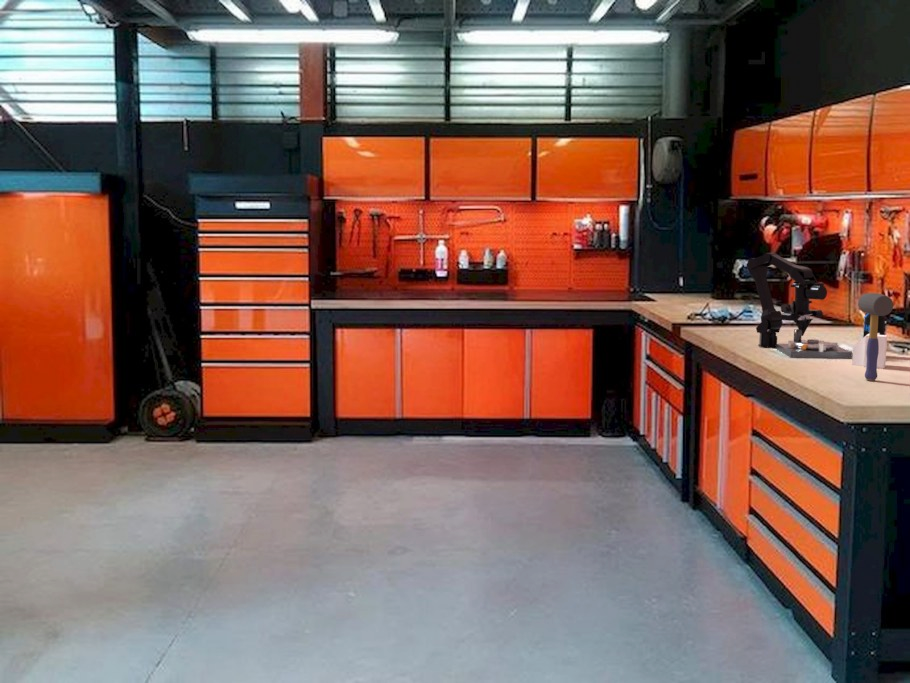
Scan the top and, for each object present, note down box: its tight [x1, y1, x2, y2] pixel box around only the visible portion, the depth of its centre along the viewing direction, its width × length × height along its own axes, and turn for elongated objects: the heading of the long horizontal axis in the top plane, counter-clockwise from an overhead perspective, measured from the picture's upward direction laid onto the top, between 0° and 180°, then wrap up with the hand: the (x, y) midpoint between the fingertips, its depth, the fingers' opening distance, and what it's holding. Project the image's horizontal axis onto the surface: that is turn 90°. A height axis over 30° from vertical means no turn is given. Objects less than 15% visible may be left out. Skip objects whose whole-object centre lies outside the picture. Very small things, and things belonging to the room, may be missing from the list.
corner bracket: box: [851, 333, 888, 370], centre depth 357 cm, size 11×11×12 cm
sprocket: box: [787, 328, 839, 350], centre depth 387 cm, size 20×20×7 cm
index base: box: [775, 343, 853, 359], centre depth 388 cm, size 24×24×6 cm
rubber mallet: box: [857, 292, 894, 382], centre depth 322 cm, size 12×8×30 cm, turn 2°
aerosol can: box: [862, 313, 887, 338], centre depth 381 cm, size 8×8×20 cm
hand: (801, 335), depth 394 cm, fingers closed
